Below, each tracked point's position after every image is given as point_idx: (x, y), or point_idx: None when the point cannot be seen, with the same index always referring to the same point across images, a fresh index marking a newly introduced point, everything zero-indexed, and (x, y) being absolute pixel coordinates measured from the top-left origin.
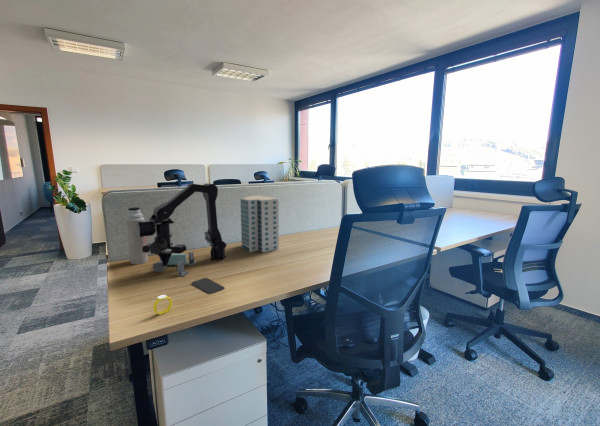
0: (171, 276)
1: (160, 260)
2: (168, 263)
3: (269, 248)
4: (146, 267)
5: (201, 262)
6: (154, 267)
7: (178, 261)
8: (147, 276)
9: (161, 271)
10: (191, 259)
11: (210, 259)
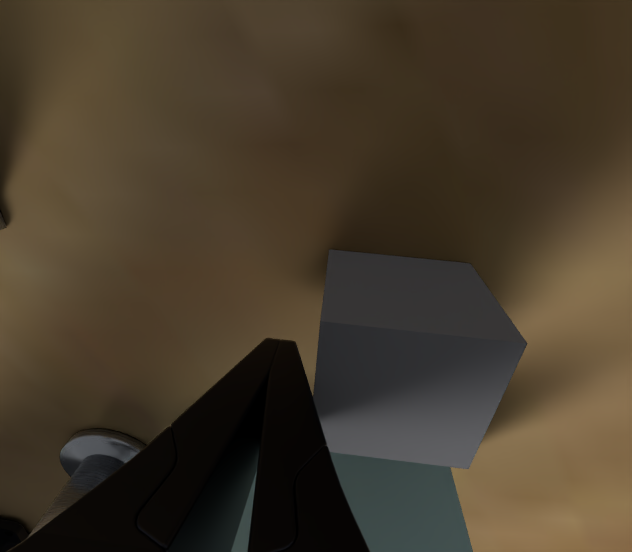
0: (32, 37)
1: (455, 515)
2: (343, 465)
3: None
4: (624, 404)
5: (51, 482)
6: (469, 300)
7: None
8: (512, 8)
9: (331, 253)
10: (51, 509)
11: (16, 523)
